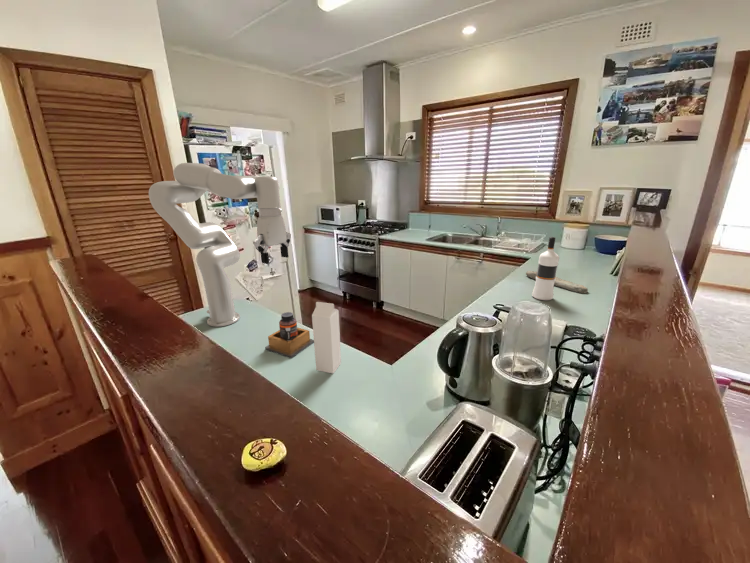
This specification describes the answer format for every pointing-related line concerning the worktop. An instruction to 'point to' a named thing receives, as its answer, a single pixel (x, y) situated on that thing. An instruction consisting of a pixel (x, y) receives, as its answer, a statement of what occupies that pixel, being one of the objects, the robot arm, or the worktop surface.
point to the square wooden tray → (289, 343)
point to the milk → (326, 337)
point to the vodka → (546, 273)
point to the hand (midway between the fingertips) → (275, 260)
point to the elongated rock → (562, 283)
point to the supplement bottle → (288, 326)
